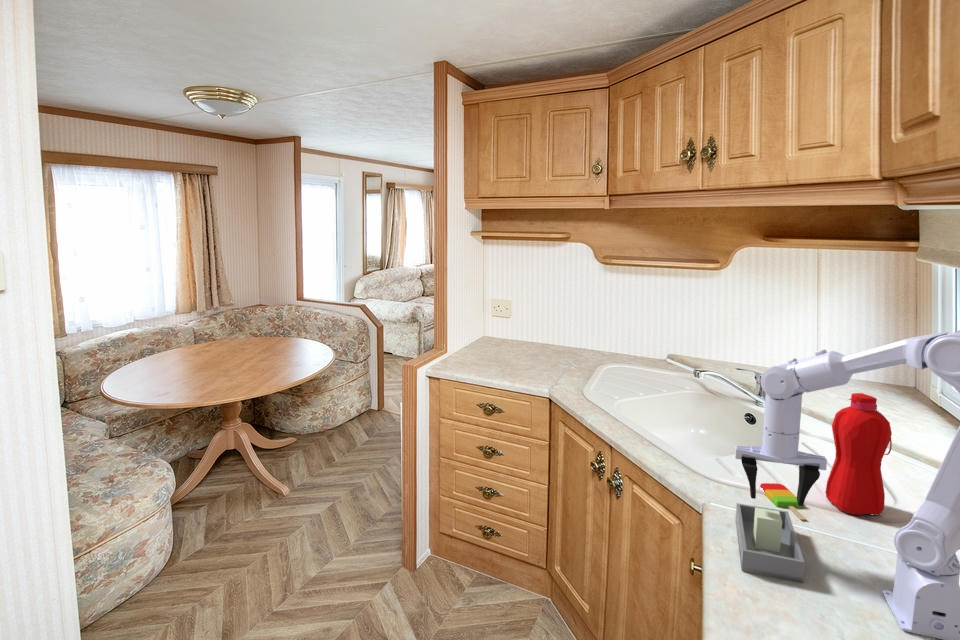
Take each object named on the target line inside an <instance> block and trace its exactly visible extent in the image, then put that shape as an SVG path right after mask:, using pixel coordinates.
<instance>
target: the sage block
mask: <svg viewBox="0 0 960 640" xmlns="http://www.w3.org/2000/svg"><path fill="white" fill-rule="evenodd" d="M781 532H782V519H781V516H780V513H779V511H774V510H768V509H761V508H755V516H754V530H753V539H754V544H755V548H758V549H764V550H769V551H774V552H780V544H781Z"/></svg>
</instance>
